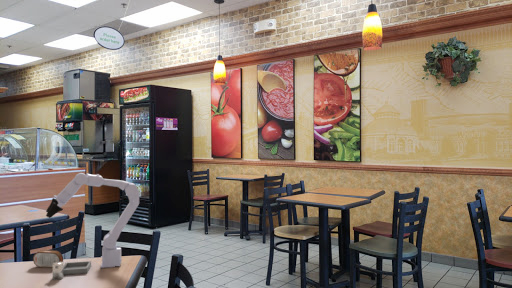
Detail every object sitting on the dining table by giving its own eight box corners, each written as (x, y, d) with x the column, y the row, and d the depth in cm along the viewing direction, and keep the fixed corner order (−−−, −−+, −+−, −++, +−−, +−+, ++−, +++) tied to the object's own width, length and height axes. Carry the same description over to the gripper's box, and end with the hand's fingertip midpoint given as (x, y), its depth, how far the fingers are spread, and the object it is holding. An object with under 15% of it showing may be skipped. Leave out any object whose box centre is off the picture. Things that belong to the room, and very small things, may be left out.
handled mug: (64, 276, 182) (64, 261, 182) (61, 280, 177) (61, 265, 177) (53, 277, 181) (54, 262, 181) (50, 281, 176) (50, 265, 176)
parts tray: (91, 265, 198) (91, 261, 198) (87, 273, 186) (87, 268, 186) (65, 267, 195) (65, 262, 195) (60, 275, 183) (60, 270, 183)
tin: (63, 266, 197) (63, 250, 197) (59, 268, 193) (60, 252, 193) (36, 265, 198) (36, 249, 198) (31, 267, 195) (32, 251, 195)
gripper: (60, 185, 197) (40, 206, 194) (61, 191, 184) (40, 214, 181) (72, 193, 200) (52, 214, 197) (73, 200, 187) (53, 222, 184)
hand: (47, 214), depth 189 cm, fingers open, 7 cm apart
